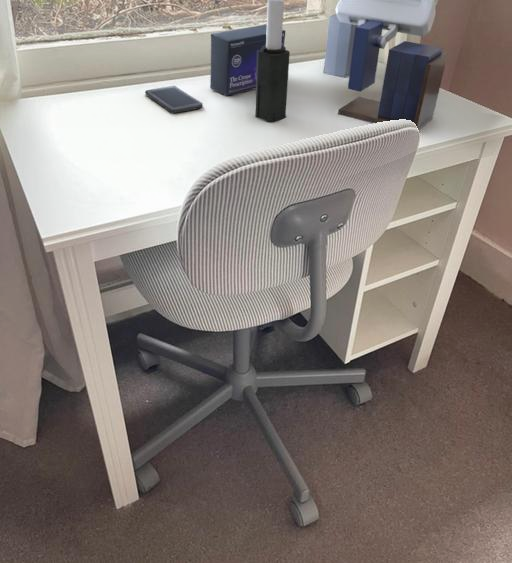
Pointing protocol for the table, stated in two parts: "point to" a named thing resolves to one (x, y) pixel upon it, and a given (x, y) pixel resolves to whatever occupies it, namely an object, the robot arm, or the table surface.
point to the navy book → (364, 55)
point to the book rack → (404, 86)
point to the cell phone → (173, 99)
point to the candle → (272, 68)
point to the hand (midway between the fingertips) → (369, 44)
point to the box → (236, 58)
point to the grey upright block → (339, 47)
